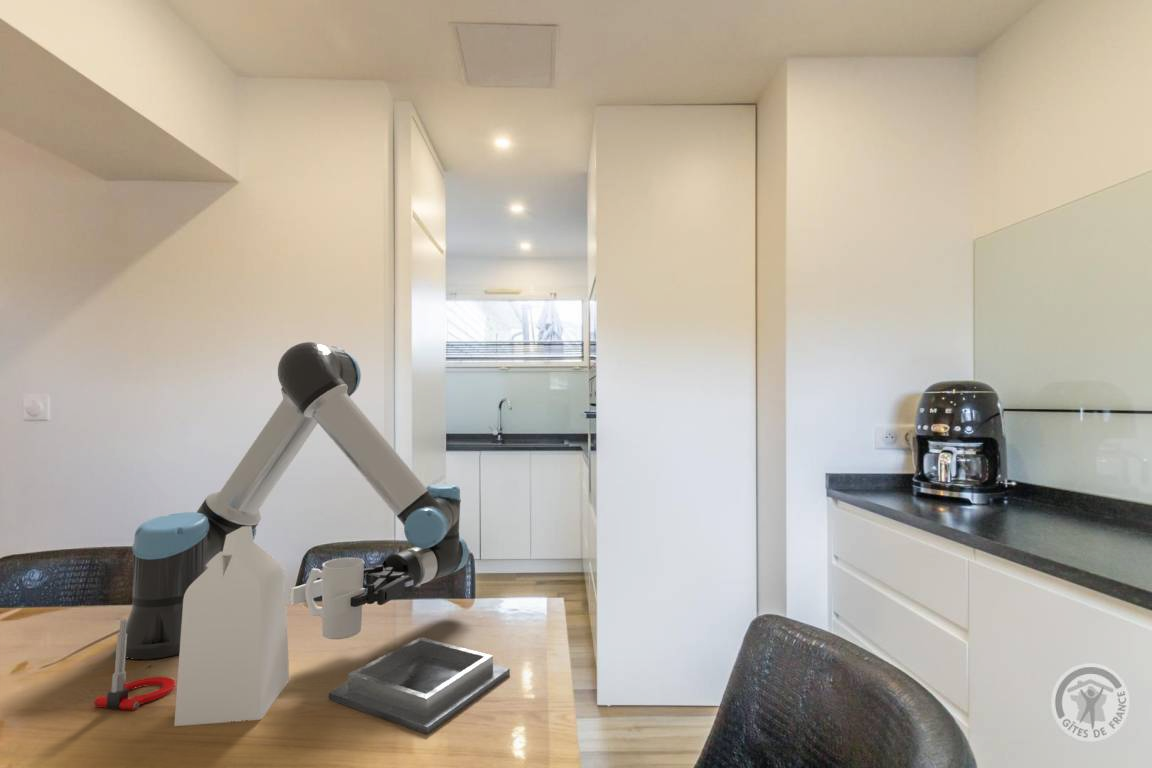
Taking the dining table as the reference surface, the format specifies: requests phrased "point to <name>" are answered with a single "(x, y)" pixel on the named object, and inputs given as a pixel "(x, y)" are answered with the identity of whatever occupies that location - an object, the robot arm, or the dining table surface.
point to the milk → (233, 636)
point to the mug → (336, 582)
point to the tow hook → (120, 690)
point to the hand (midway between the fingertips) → (311, 601)
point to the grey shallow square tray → (420, 683)
